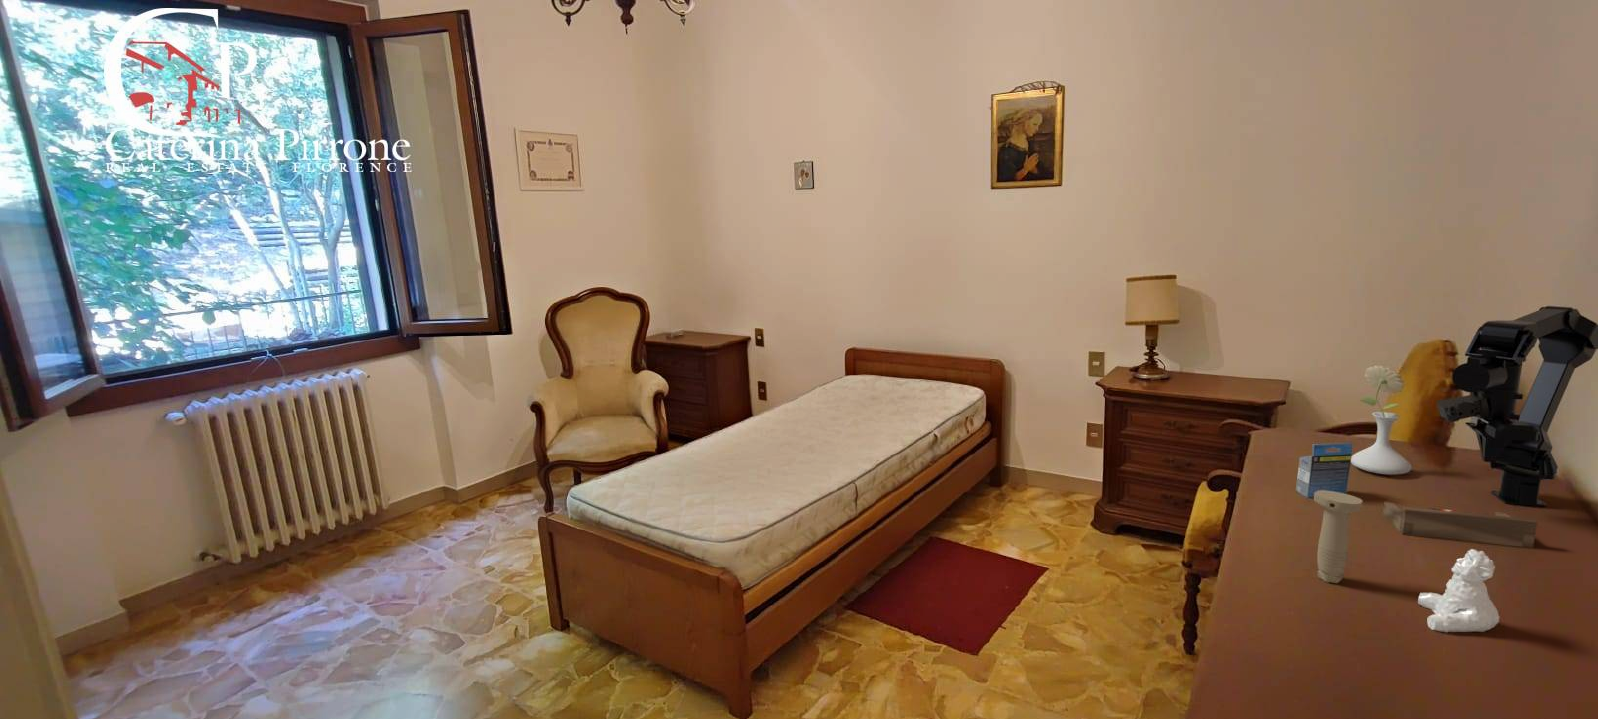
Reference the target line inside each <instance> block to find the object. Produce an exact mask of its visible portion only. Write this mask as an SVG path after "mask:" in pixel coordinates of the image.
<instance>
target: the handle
mask: <svg viewBox="0 0 1598 719" xmlns="http://www.w3.org/2000/svg"><path fill="white" fill-rule="evenodd" d="M1313 500H1314V502H1315V503H1317V504H1318V505H1319V506H1320V507H1322V508H1323V517H1322V522H1321V528H1320V533H1319V540H1318V546H1317V557H1316V558H1317V568H1318V570H1317V577H1318V579H1321V580H1323V582H1325V583H1333V584H1339V582H1341V581H1342V579H1343V577H1344V576H1343V573H1344V571H1345V568H1346V564H1347V559H1348V558H1347V557H1348V547H1349V546H1348V541H1349V536H1348V535H1349V518H1350V517H1349V516H1350V515H1351V514H1350V513H1355V512H1358V511H1360V510H1361V509H1362V507H1363V500H1362V499H1361V498H1360V497H1357V496H1354V495H1351V494H1348V493H1346V494H1344V493H1339V492H1334V491H1325V490H1319V491H1316V492H1315V493H1314V497H1313Z"/></svg>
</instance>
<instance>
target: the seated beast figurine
mask: <svg viewBox="0 0 1598 719" xmlns="http://www.w3.org/2000/svg"><path fill="white" fill-rule="evenodd" d="M1495 569H1496V566H1495V565H1494V561H1493V560H1491V559H1490V558H1489V556H1488V555H1486V553H1485V552H1484V551H1483V550H1479V551H1478V550H1477V549H1473V548H1470V549H1469V550H1467V552H1466V553H1465V554H1464V557H1463V558H1461V557H1460V558H1457V559H1456V562H1455V564H1454V565H1453V567H1451V571H1452V573H1453V575H1452V576H1451V579H1448V582H1447V583H1446V584H1445V586H1446V589H1444V590H1445V591H1444V593H1443V594H1439V593H1436V592H1420V593H1419V596H1418V599H1417V604H1418V605H1419V606H1420V607H1422V608H1426V609H1428V610H1432V612H1433V613H1434V614H1431V615H1429V616H1427V621H1426V622H1427V623H1426V624H1427V626H1428V628H1429V629H1431V630H1432V631H1436V632H1443V633H1446V634H1447V633H1448V632H1449V633H1472V632H1477V633H1478V632H1480V633H1483V632H1486V631H1489V630H1492V628H1495V627H1496V625H1498V624H1499V621H1500V618H1501V616H1500V615H1499V612H1498V609H1497V607H1496V606H1495V604H1494V603H1493V601H1492V600H1490V599H1491V598H1490V595H1489V594H1488V588H1487V587H1488V586H1487V585H1486V584H1485V581H1487V580H1488V579H1492V578H1493V576H1494V571H1495Z"/></svg>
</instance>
